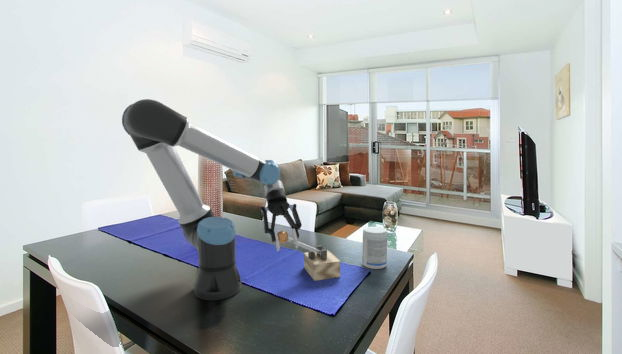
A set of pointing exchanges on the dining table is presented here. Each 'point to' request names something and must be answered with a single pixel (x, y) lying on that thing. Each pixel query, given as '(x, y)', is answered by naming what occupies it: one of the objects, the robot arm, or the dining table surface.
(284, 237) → the press lever
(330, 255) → the block with knobs
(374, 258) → the supplement tub
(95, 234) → the dining table surface
